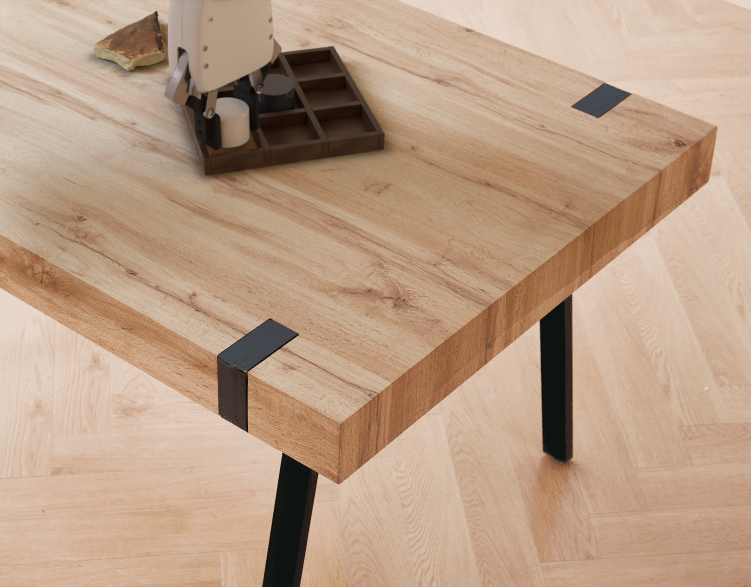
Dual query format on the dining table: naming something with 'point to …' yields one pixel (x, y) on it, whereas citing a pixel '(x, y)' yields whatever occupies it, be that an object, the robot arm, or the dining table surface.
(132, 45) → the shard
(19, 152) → the dining table surface
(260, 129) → the board
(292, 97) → the black stone
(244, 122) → the ivory stone
